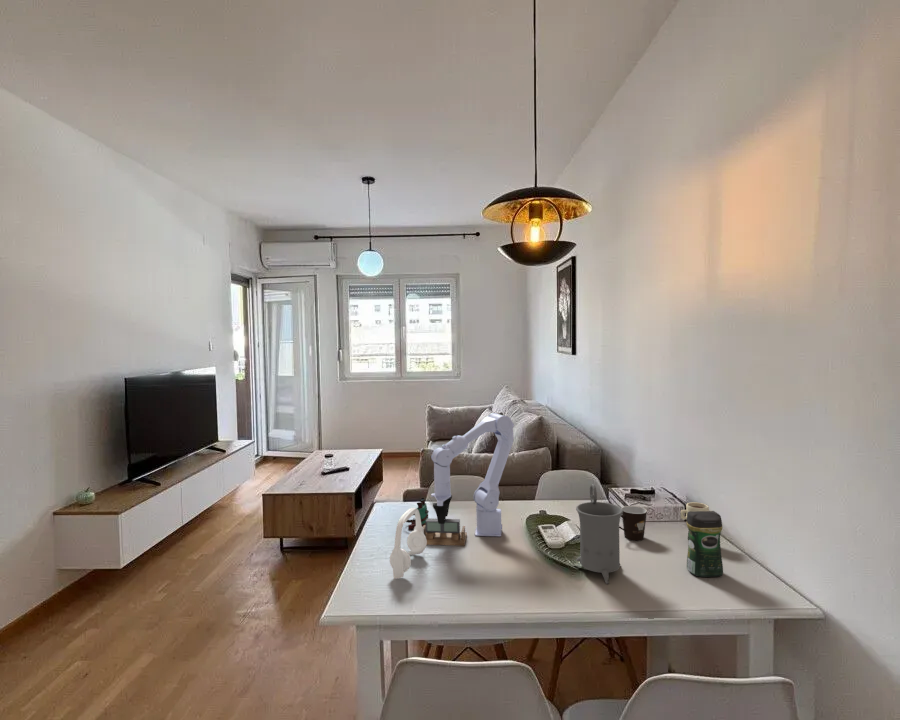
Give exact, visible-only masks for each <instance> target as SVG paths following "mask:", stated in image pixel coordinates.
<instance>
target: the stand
mask: <svg viewBox="0 0 900 720" xmlns="http://www.w3.org/2000/svg"><path fill="white" fill-rule="evenodd" d="M423 529H424V535H425V537H426V540H427V545H428V546H431V545H432V546H434V545H435V546H456V547H457V546H461V547H462V546H463V547H464V546H465V544H466V540H467V535H468V534H467V532H466V526H464V525H463V526H462V528H461V530H460V533H431V532H426V525H423ZM427 545H426V546H427Z"/></svg>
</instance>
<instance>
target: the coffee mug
mask: <svg viewBox="0 0 900 720" xmlns="http://www.w3.org/2000/svg"><path fill="white" fill-rule="evenodd" d="M620 508H621V509H622V510H623V513H622V515H621V517H620V518H622V526H620V525H619V530H620V529H621V530H622V531H623V535H624V538H625V539H626V540H629V541H633V542H639V541H640V542H641V541H643V540H644V538H645V531H646V524H647V523H646V522H647V514H648V510H647V509H646V508H644V507H641V506H637V505H627V506H622V507H620Z"/></svg>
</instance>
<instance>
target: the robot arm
mask: <svg viewBox="0 0 900 720" xmlns="http://www.w3.org/2000/svg"><path fill="white" fill-rule="evenodd" d="M514 427H515V425H514V422H513V420H512V419H511V417H510V416H508V415H504V414H503V415H502V414H500V413H497V412H492V413H490V414H488V415H487V416H485V417H483V418H482V420H481V421H480V422H478V423H477V424H476V425H475V426H473V427H472V428H471V429H470V430H469V431H467V432H466V433H465V434H463V435H458V434H457V435H453V436H452V437H451V438H452V439H450V441H448V442H446V443H443V444H442V445H441V447H437V448H435V449H434V450H433V451H432V453H431V455H430V457H431V458H430V459H431V460H432V462H433V481H434V482H433V483H434V488H433V489H434V493H431V494H430V495H431V498H433V497H434V499H435V500H436V502H434V503H433V504H432V507H433V510H434V511H435V512H434V513H435V514H436V519H438V523H439V524H445V520H446V519H447V517H448V514H449V508H450V503H451V501H452V499H453V495H452V493H451V492H452V491H451V464H452V463H453V462H452V461H453V459H455V457H458V456H459V455H460V454H461V453H463V452H464V451H465V450H466V451H467V449H468V446H469V444H470V443H471V442H473V441H475V440H476V439H478V438H479V437H481V436H482V435H484V434H486V433H494V435H495V437H496V438H497V439H496V440H497V443H496V445H495V449H494V451H493V455H492V456H491V461H490V463H489V466H488V468H487V472H486V475H485V477H484V480H483V481H481V482H480V483H479V485H478V487H477V489H475V491H474V493H473V501H474V503H476V506H475V507H476V509H475V510H476V511H475V512H476V518H475V519H476V527H475V533H474V536H475V537H477V536H478V537H502V530H503V523H502V508H498V506H499V504H500V503H499V501H500V498H499V497H500V494H501V492H500V488H499V483H500V482H501V479H502V476H503V472H504V470H505V467H506V464H507V460H508V458H509V455H510V452H511V450H512V448H513V444H514V440H515V439H514Z"/></svg>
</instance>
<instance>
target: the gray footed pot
mask: <svg viewBox="0 0 900 720" xmlns="http://www.w3.org/2000/svg"><path fill="white" fill-rule="evenodd" d="M597 493H598V492H597V487H596V485H595V483H592V484H590V486H589V498H590V499H589V500H590V501H588V502H582V503H579V504H577V506H576V507H575V510H576V511H577V512H576V513H578V518H579V542H580V545H579V547H580V550H579V552H580V555H579V556H578V557H576V559H575V561H576V560H577V561H580V566H581V567H583V568H584V569H586V570H587V571H591V572H594V573H601V575H602V577H603V580H604V582H605V584H606V585H609V584H610V583H609V579H610V578H609V577H610V576H609V574H610V573H613V572H616V571H618V570H619V569H620V566H621V563H620V555H621V554H620V552H621V551H620V528H619V526H620V523H621V522H620V521H621V518H622V517H621V515H622V513H623V510H622V509H621V508H622V507H620V506H618V505H616V504H614V503H609V502H603V501H602V502H600V501H597V500H598V494H597Z"/></svg>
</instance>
